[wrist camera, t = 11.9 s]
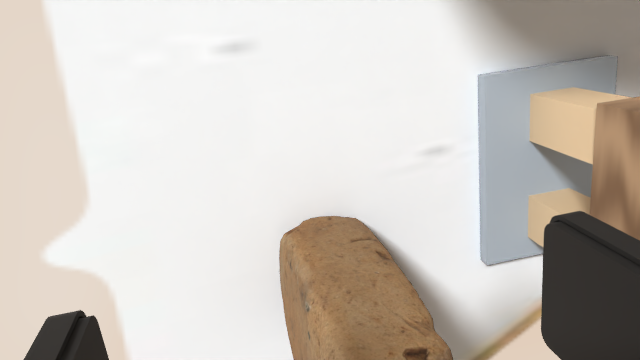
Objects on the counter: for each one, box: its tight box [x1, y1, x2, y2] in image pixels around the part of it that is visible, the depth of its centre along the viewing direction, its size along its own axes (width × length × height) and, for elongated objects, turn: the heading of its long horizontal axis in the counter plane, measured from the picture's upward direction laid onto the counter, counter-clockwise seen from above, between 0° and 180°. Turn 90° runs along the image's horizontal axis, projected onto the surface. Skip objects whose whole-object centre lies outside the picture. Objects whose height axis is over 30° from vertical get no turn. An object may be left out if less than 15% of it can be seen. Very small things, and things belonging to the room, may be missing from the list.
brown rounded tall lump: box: [279, 216, 453, 360], centre depth 35 cm, size 11×8×20 cm
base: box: [478, 56, 631, 265], centre depth 41 cm, size 17×12×9 cm
